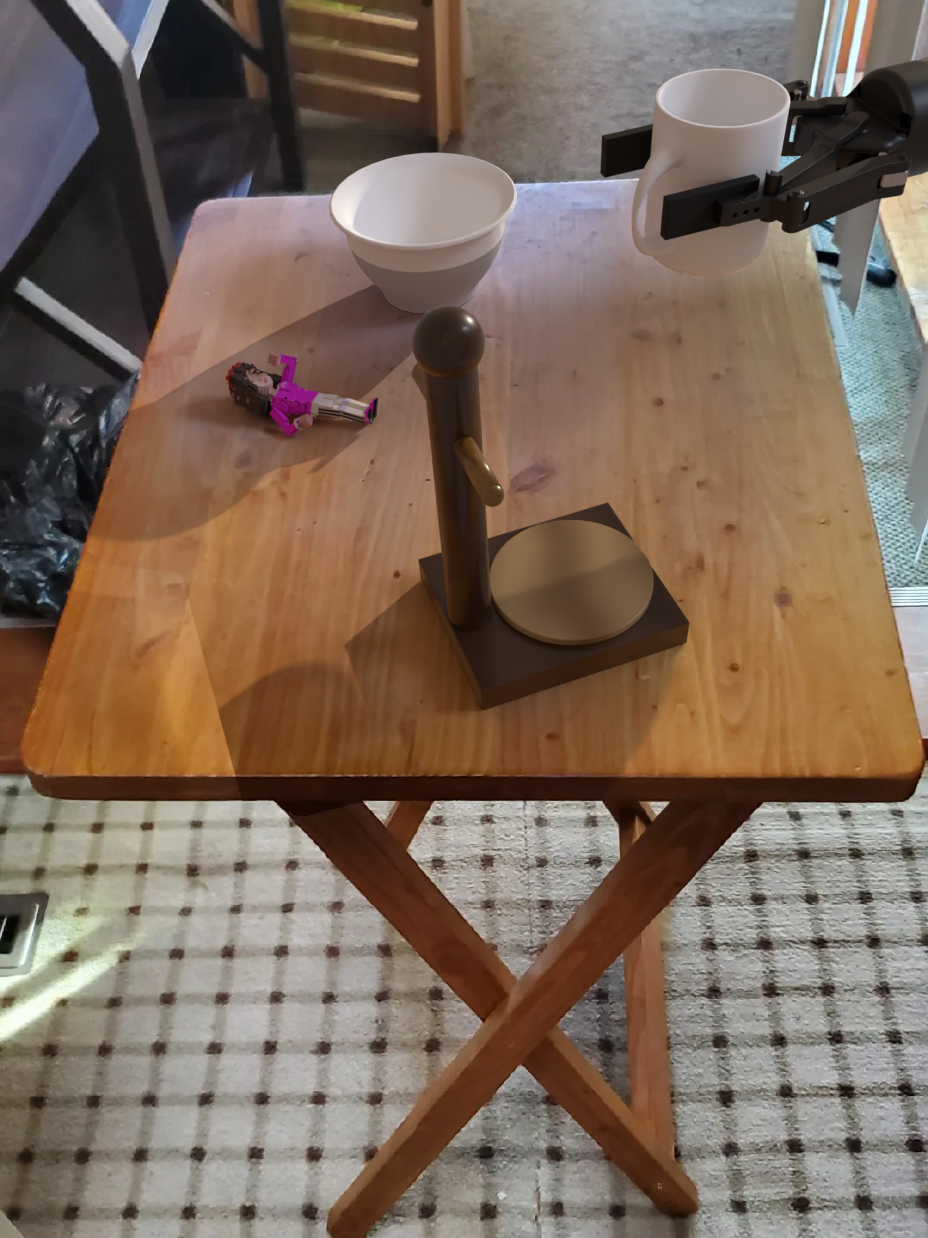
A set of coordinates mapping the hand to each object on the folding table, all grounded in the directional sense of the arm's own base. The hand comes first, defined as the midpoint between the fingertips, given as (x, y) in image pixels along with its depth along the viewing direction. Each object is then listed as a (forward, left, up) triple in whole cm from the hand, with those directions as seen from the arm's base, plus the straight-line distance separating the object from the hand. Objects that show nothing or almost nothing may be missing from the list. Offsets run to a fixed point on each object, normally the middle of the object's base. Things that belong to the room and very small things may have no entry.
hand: (632, 186), depth 72 cm
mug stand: (0, +23, -18) cm, 29 cm away
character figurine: (+24, +8, -18) cm, 31 cm away
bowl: (+20, -12, -18) cm, 29 cm away
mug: (-4, -2, -6) cm, 8 cm away
